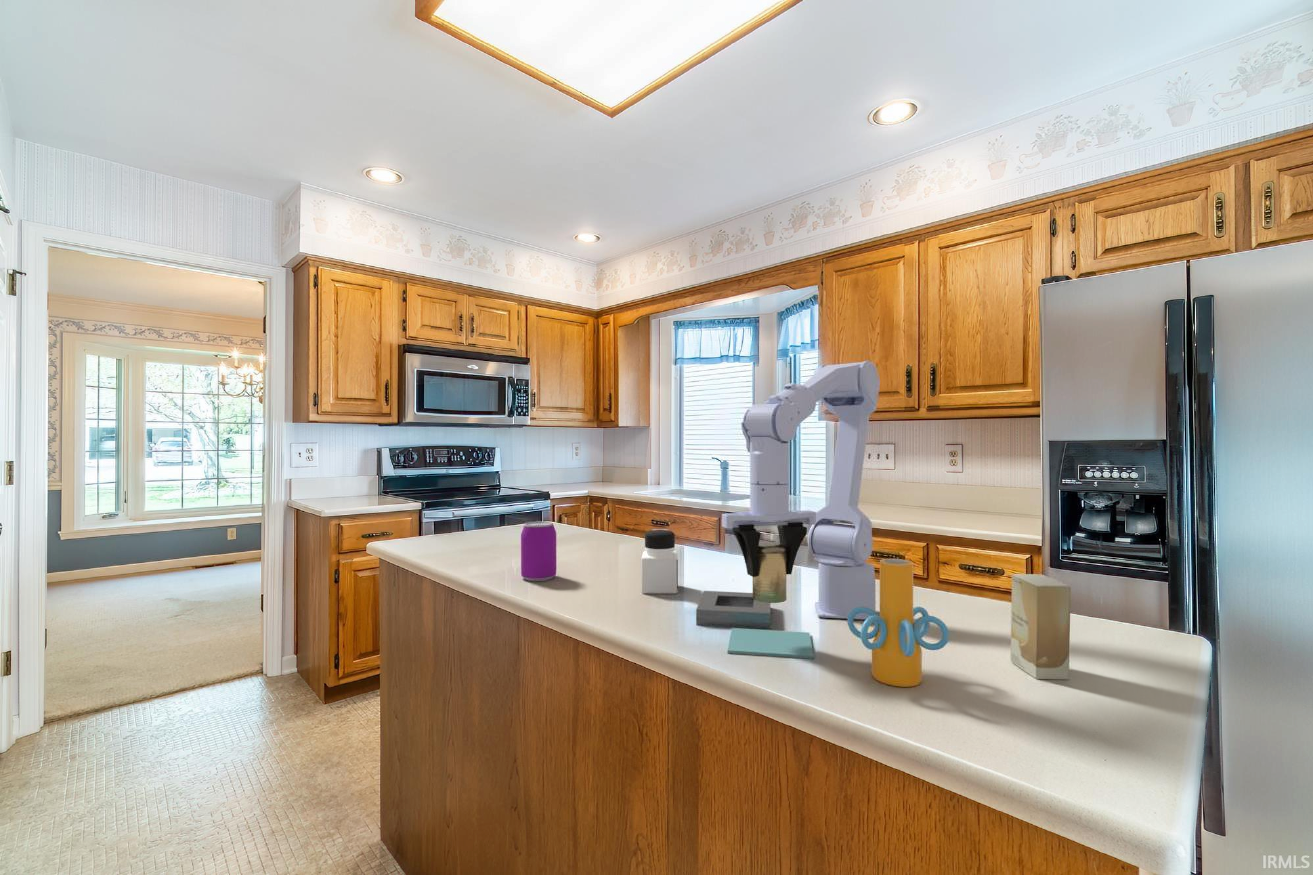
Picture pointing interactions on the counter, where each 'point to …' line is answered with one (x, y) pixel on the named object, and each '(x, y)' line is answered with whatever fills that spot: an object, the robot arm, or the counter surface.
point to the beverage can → (538, 551)
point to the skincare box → (1040, 626)
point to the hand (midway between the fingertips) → (769, 574)
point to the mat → (770, 643)
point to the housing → (732, 610)
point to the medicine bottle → (659, 563)
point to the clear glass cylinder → (770, 573)
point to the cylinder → (897, 628)
